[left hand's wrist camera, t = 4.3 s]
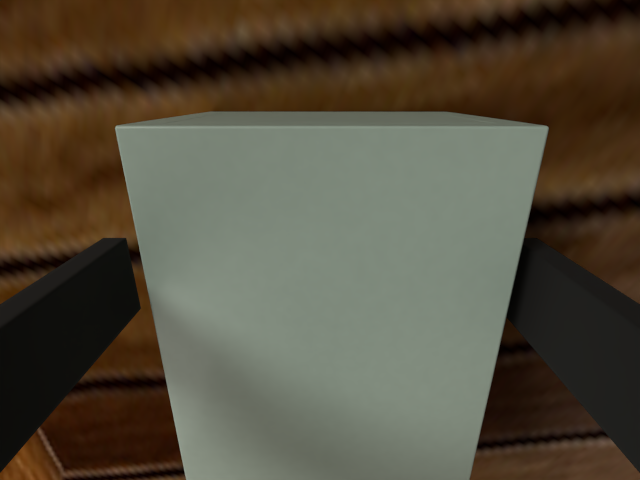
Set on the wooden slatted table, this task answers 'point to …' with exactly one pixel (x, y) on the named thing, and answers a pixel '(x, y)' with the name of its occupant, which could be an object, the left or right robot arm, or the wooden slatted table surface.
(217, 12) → the wooden slatted table surface
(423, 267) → the cabinet
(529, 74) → the wooden slatted table surface
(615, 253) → the wooden slatted table surface
